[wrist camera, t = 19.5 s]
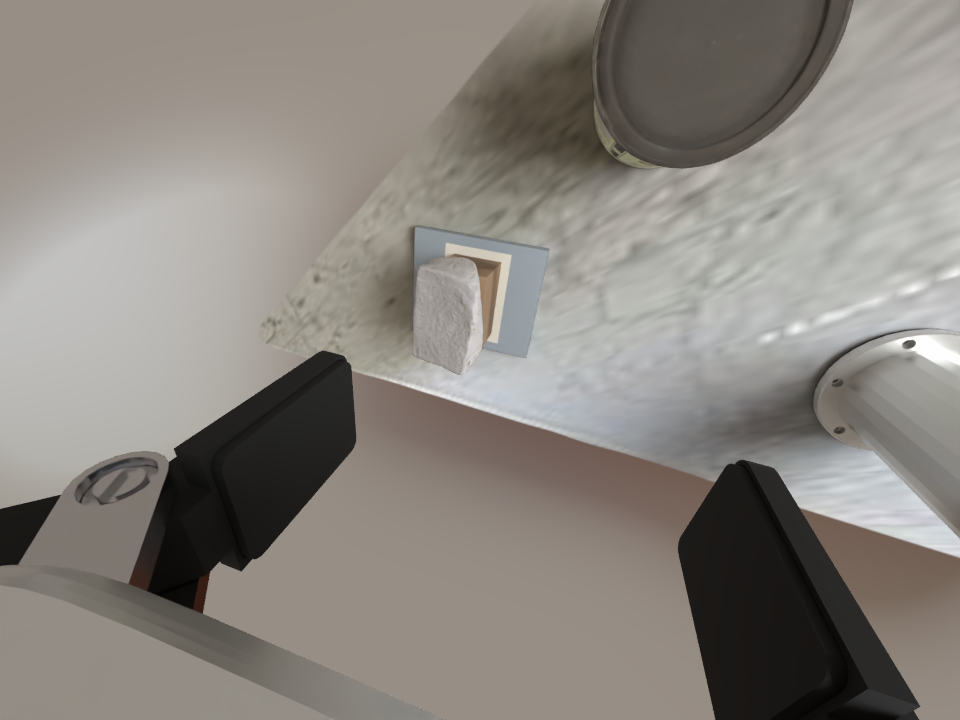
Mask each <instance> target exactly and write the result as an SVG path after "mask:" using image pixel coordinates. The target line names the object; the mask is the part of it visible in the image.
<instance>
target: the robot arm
mask: <svg viewBox="0 0 960 720" xmlns="http://www.w3.org/2000/svg"><path fill="white" fill-rule="evenodd" d="M813 405H814V411H815V414H816V417H817V419H818V420H819V422H820V423H821V424H822V426H823V427H824V428H825V429H826V430H827V431H828V432H829V433H830V434H831V435H832V436H833V437H835V438H836V439H838V440H839V441H841V442H843V443H845V444H847V445H850V446H852V447H855V448H859V449H863V450H868V451H873V452H874V453H875V454H876V455H877V456H878V457H879V458H880V459H881V460H882V461H883V462H884V463H885V464H886V465H887V466H888V467H889V468H890V469H891V470H892V471H893V472H894V473H895V474H896V475H897V476H898V477H899V478H900V479H901V480H902V481H903V482H904V483H905V484H906V485H907V486H908V487H909V488H910V489H911V490H912V491H913V492H914V493H915V494H916V495H917V496H918V497H919V498H920V499H921V500H922V501H923V502H924V503H925V504H926V505H927V506H928V507H929V508H930V509H931V510H932V511H933V512H934V513H935V514H936V515H937V516H938V517H939V518H940V519H941V520H942V521H943V522H944V523H945V524H946V525H947V526H948V527H949V528H950V529H951V530H952V531H953V532H954V533H955V534H956V535H957V536H958V537H959V538H960V333H959V332H954V331H948V330H937V329H921V330H911V331H904V332H899V333H895V334H890V335H886V336H883V337H881V338H878V339H875V340H872V341H869V342H867V343H865V344H863V345H861V346H859V347H857V348H855V349H853V350H852V351H850V352H849V353H847V354H846V355H844V356H843V357H841V358H840V359H839V360H838V361H836V362H835V363H834V364H833V365H832V366H831V367H830V368H829V369H828V370H827V371H826V373H825V374H824V375H823V376H822V378H821V379H820V381H819V383H818V385H817V387H816V389H815V394H814V398H813ZM355 443H356V428H355V413H354V400H353V385H352V370H351V365H350V363H348V362H347V360H346V358H345V357H344V356H343V355H339V354H335V353H331V352H327V351H321V352H318V353H317V354H315V355H314V356H312V357H311V358H309V359H308V360H306V361H305V362H304V363H302V364H300V365H299V366H298V367H296V368H294V369H293V370H292V371H290V372H288V373H287V374H286V375H284V376H282V377H281V378H279V379H278V380H276V381H275V382H273V383H272V384H270V385H269V386H267V387H266V388H264V389H263V390H261V391H260V392H258V393H257V394H255V395H254V396H252V397H251V398H249V399H248V400H246V401H245V402H243V403H242V404H240V405H239V406H237V407H236V408H235V409H233V410H231V411H230V412H228V413H227V414H225V415H224V416H222V417H221V418H219V419H218V420H216V421H215V422H213V423H212V424H210V425H209V426H207V427H206V428H204V429H203V430H201V431H200V432H198V433H197V434H195V435H194V436H192V437H191V438H189V439H188V440H186V441H185V442H183V443H182V444H180V445H179V446H177V447H176V448H174V450H175V453H176V455H177V457H176V458H174V459H173V460H171V461H170V462H168V460H167V459H166V457H165V456H163V455H161V454H159V453H156V452H149V451H141V452H131V453H127V454H123V455H119V456H115V457H113V458H110V459H107V460H105V461H102V462H100V463H98V464H96V465H94V466H93V467H91V468H89V469H87V470H85V471H84V472H83V473H81V474H80V475H79V476H77V477H76V478H75V479H73V480H72V482H71V483H70V484H69V485H68V486H67V487H66V489H65V490H64V491H63V493H62V495H58V496H54V497H49V498H45V499H41V500H37V501H32V502H28V503H24V504H20V505H15V506H11V507H7V508H3V509H0V720H445V719H443V718H441V717H438V716H436V715H434V714H431V713H429V712H427V711H425V710H422V709H420V708H418V707H416V706H413V705H411V704H409V703H406V702H404V701H402V700H400V699H397V698H395V697H393V696H390V695H388V694H386V693H384V692H381V691H379V690H376V689H374V688H372V687H370V686H368V685H365V684H363V683H361V682H358V681H356V680H354V679H352V678H349V677H347V676H345V675H343V674H340V673H338V672H336V671H333V670H331V669H329V668H327V667H324V666H322V665H319V664H317V663H315V662H313V661H310V660H308V659H306V658H303V657H301V656H299V655H296V654H294V653H292V652H290V651H287V650H285V649H283V648H280V647H278V646H276V645H273V644H271V643H269V642H266V641H264V640H262V639H259V638H257V637H255V636H253V635H250V634H248V633H246V632H243V631H241V630H239V629H236V628H234V627H232V626H229V625H227V624H225V623H222V622H220V621H218V620H216V619H213V618H211V617H209V616H206V615H204V614H203V610H204V604H205V599H206V593H207V587H208V581H209V576H210V571H211V570H212V569H213V568H214V567H215V566H216V565H217V563H219V562H221V563H222V564H224V565H227V566H229V567H232V568H234V569H237V570H239V571H242V570H243V569H244V568H245V567H246V566H247V564H248V563H249V562H250V561H251V560H252V559H257V558H259V557H260V556H262V555H263V554H264V552H265V551H266V550H267V549H268V548H269V547H270V546H271V544H272V543H273V542H274V541H275V540H276V539H277V537H278V536H279V535H280V534H281V533H282V532H283V530H284V529H285V528H286V527H287V526H288V525H289V523H290V522H291V521H292V520H293V519H294V517H295V516H296V515H297V514H298V513H299V512H300V511H301V509H302V508H303V507H304V506H305V505H306V504H307V503H308V501H309V500H310V499H311V498H312V497H313V496H314V494H315V493H316V492H317V491H318V489H319V488H320V487H321V486H322V485H323V484H324V483H325V481H326V480H327V479H328V478H329V477H330V476H331V475H332V473H333V472H334V471H335V470H336V469H337V468H338V466H339V465H340V464H341V463H342V462H343V461H344V459H345V458H346V457H347V456H348V455H349V453H350V452H351V451H352V450H353V448H354V446H355ZM678 553H679V558H680V563H681V567H682V571H683V576H684V580H685V584H686V590H687V594H688V599H689V603H690V607H691V612H692V616H693V621H694V625H695V630H696V634H697V639H698V643H699V647H700V652H701V657H702V661H703V666H704V670H705V675H706V679H707V684H708V688H709V693H710V697H711V701H712V706H713V711H714V715H715V720H919V719H918V717H917V716H916V714H915V712H914V711H913V710H915V709H917V708H919V707H920V705H919V704H918V702H917V700H916V699H915V697H914V696H913V694H912V692H911V690H910V689H909V687H908V686H907V684H906V682H905V681H904V679H903V677H902V676H901V674H900V672H899V671H898V669H897V668H896V666H895V664H894V663H893V661H892V659H891V658H890V656H889V654H888V653H887V651H886V650H885V648H884V646H883V645H882V643H881V641H880V640H879V638H878V637H877V635H876V633H875V631H874V630H873V628H872V627H871V625H870V623H869V622H868V620H867V618H866V617H865V615H864V614H863V612H862V610H861V609H860V607H859V605H858V604H857V602H856V600H855V599H854V597H853V596H852V594H851V592H850V591H849V589H848V587H847V586H846V584H845V582H844V581H843V579H842V577H841V576H840V574H839V573H838V571H837V569H836V568H835V566H834V564H833V563H832V561H831V559H830V558H829V556H828V554H827V553H826V551H825V550H824V548H823V546H822V545H821V543H820V541H819V540H818V538H817V536H816V535H815V533H814V531H813V530H812V528H811V527H810V525H809V523H808V522H807V520H806V519H805V517H804V515H803V513H802V512H801V510H800V509H799V507H798V505H797V504H796V502H795V500H794V499H793V497H792V495H791V494H790V492H789V490H788V489H787V487H786V486H785V484H784V482H783V481H782V479H781V477H780V476H779V474H778V473H777V471H776V470H775V469H774V468H772V467H769V466H765V465H761V464H757V463H753V462H750V461H746V460H740V461H738V462H736V464H728V465H727V466H726V467H725V469H724V470H723V472H722V473H721V475H720V476H719V478H718V479H717V481H716V483H715V484H714V486H713V487H712V489H711V490H710V492H709V493H708V495H707V497H706V498H705V500H704V501H703V503H702V504H701V506H700V507H699V509H698V511H697V512H696V514H695V515H694V517H693V518H692V520H691V522H690V523H689V525H688V526H687V528H686V529H685V531H684V533H683V534H682V535H681V537H680V540H679V545H678Z"/></svg>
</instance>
